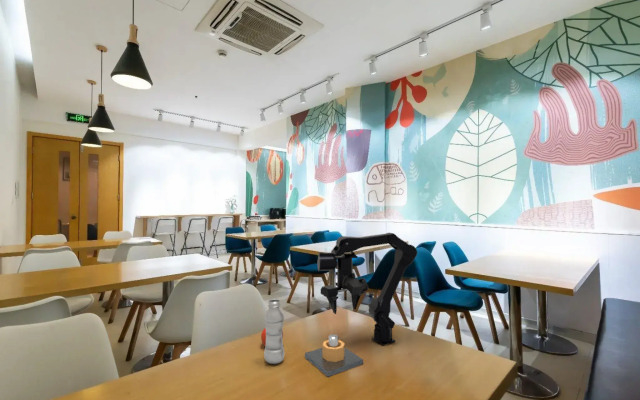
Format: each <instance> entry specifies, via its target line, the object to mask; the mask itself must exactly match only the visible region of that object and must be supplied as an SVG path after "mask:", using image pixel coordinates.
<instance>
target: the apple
mask: <svg viewBox="0 0 640 400" xmlns="http://www.w3.org/2000/svg"><path fill="white" fill-rule="evenodd" d="M283 338H284V331H282V339H283ZM260 339H261V342H262V344H263V345H264V346H265V345H266V328H265V327H264V328H263V330H262V332H261V335H260ZM283 340H284V339H283Z"/></svg>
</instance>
